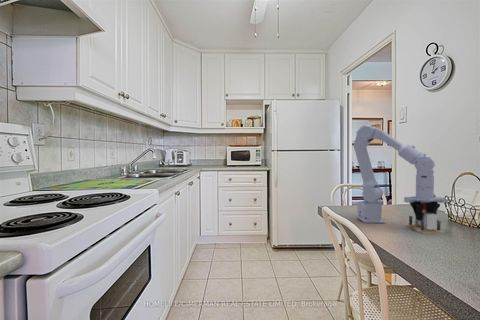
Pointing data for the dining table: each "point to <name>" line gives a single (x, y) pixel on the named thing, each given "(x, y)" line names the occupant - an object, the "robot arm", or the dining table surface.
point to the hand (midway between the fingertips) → (424, 220)
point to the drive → (427, 220)
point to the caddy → (422, 229)
